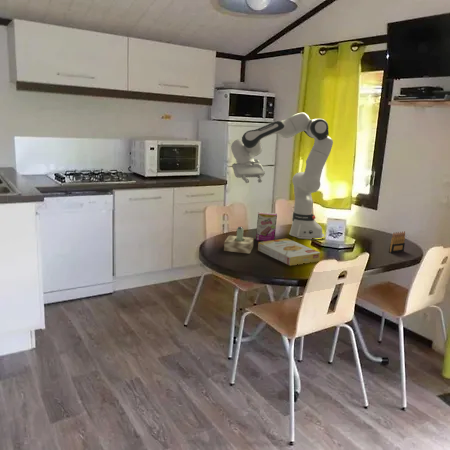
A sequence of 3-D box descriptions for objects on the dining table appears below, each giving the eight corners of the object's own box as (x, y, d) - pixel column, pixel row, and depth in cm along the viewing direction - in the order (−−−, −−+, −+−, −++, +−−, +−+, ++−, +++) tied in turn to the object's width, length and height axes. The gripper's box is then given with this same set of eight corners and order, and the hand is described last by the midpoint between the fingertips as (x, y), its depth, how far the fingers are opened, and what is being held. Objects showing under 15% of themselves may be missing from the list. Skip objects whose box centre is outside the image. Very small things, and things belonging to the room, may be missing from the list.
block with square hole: (253, 246, 249) (253, 238, 248) (249, 253, 235) (250, 244, 234) (228, 243, 251) (229, 235, 250) (223, 250, 238) (224, 241, 237)
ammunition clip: (391, 253, 252) (394, 232, 250) (388, 252, 254) (391, 231, 251) (403, 251, 258) (407, 231, 255) (401, 250, 259) (404, 230, 257)
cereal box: (286, 237, 252) (321, 251, 229) (285, 246, 253) (320, 261, 230) (257, 241, 241) (291, 256, 218) (257, 251, 242) (290, 267, 219)
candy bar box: (255, 240, 261) (257, 213, 257) (255, 238, 266) (258, 211, 262) (274, 242, 260) (277, 214, 257) (274, 240, 265) (277, 213, 261)
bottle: (242, 248, 245) (244, 226, 242) (241, 249, 241) (243, 228, 239) (236, 247, 245) (237, 226, 243) (235, 249, 242) (236, 227, 239)
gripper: (233, 160, 258) (242, 179, 252) (261, 160, 269) (270, 178, 264) (228, 166, 263) (237, 185, 257) (256, 166, 274) (264, 184, 268)
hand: (254, 182), depth 261 cm, fingers open, 8 cm apart
